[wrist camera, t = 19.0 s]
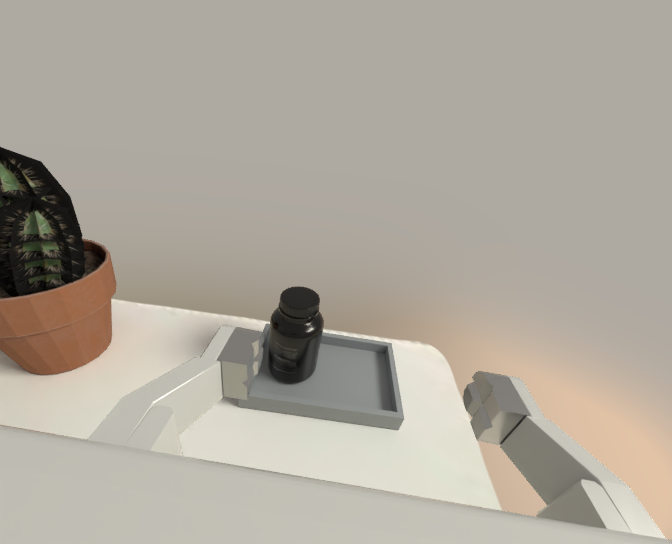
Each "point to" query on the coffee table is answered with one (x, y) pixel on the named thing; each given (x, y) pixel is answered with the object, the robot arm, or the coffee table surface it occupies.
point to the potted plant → (49, 274)
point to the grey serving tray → (336, 384)
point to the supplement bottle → (295, 335)
